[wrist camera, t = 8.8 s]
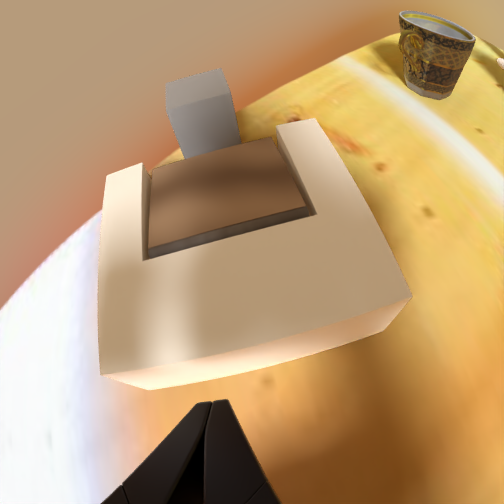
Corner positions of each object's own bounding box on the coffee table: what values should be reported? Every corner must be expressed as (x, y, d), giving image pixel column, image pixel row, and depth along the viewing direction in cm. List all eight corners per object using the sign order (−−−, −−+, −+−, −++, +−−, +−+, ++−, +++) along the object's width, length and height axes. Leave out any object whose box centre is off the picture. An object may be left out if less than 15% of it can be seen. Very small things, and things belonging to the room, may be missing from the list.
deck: (383, 331, 19) (412, 296, 14) (149, 390, 19) (100, 375, 14) (314, 173, 26) (314, 118, 21) (137, 221, 26) (106, 175, 21)
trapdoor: (309, 222, 18) (309, 212, 17) (153, 264, 17) (148, 255, 17) (272, 145, 23) (270, 136, 22) (156, 177, 23) (152, 169, 22)
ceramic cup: (417, 66, 36) (425, 10, 27) (471, 98, 31) (486, 39, 23) (363, 82, 34) (366, 13, 25) (424, 121, 29) (441, 45, 20)
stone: (221, 68, 24) (236, 135, 31) (165, 83, 24) (189, 147, 31) (230, 92, 21) (246, 166, 28) (166, 110, 21) (193, 180, 28)
